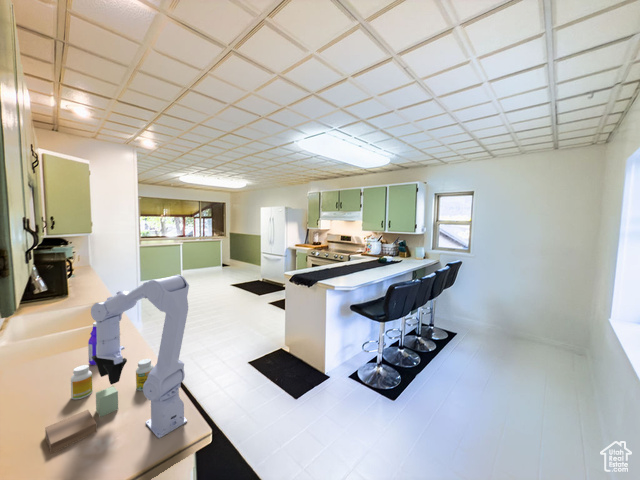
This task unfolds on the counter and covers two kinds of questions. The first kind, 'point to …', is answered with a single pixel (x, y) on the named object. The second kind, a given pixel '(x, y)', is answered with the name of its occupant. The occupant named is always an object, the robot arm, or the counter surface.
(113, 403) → the sage block
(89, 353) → the bottle
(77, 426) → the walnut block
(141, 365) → the supplement bottle
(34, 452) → the counter surface
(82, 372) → the supplement bottle
